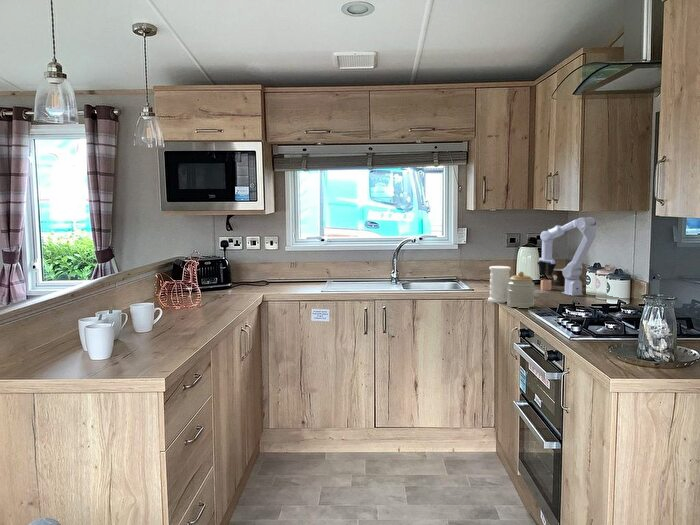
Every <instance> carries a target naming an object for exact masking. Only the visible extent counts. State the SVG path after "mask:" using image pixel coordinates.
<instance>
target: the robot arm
mask: <svg viewBox="0 0 700 525" xmlns="http://www.w3.org/2000/svg"><path fill="white" fill-rule="evenodd" d="M597 226H598V223H597V221H596V219H595V218H594V217H592V216H589V217H578V218H576V219H574V220H572V221H570V222H568V223H565V224H564V225H557V224H556V225H554V227H552V228H548V229H547V230H543V231H542V232H541V233H540V240H541V257H538V262H537V265H538V268H539V270H540V274H541V275H544V274H546V271H547V276H548V277H551V276H552V277H553V270H554V269H556V268H555V267H556V266H557V264H556V260H555V259H554V258H553V243H554V240H555V239H556V238H559V237H561V236H563V235H564V234H565V232H567V231H569V230H573V229H574V228H577V229H578V230H579V231H580V233H581V234H582V236H583V237H582V239H581V242H580V243H579V245H578V246H577V249H576V251H575V253H574V255H573V258H572V259H571V261H569V263H567V264H566V266H565V267H564V268H562V269H563V276H564V277H565V286H564V291H561V293H562V294H565V295H568V296H570V295H571V296H572V297H573V296H584V294H583V282H582V280H580V276H582V274H583V271H582V270H583V267H584V266H583V265H582V264H583V262H584V260H585V259H586V256H587V255H588V252H589V251H590V248H591V247H592V244H593V243H594V240H595V238H596V232H597Z"/></svg>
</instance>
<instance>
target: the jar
mask: <svg viewBox="0 0 700 525" xmlns="http://www.w3.org/2000/svg"><path fill="white" fill-rule="evenodd" d="M509 280H510V281H509V282H508V283H507V284H508V289H507V291H508V292H507V303H506V304H507V307H509V308H511V307H532V306H533V307H534V305H535V293H534V290H535V289H534V286H535V283H534V282H533V280H534V278H533V277H531V276H530V275H525V273H524V272H523V271H519V272H518V274H517V275H516V274H515V275H512V276H511V277H510V276H509Z"/></svg>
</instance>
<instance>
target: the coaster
mask: <svg viewBox="0 0 700 525" xmlns="http://www.w3.org/2000/svg"><path fill="white" fill-rule="evenodd" d="M551 293H552V292H551V291H549V290H541V289H534V295H535V294H536V295H537V294H551Z"/></svg>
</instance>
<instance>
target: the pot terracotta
mask: <svg viewBox="0 0 700 525" xmlns="http://www.w3.org/2000/svg"><path fill="white" fill-rule="evenodd" d="M540 290H544V291H552V280H551V279H541V280H540Z"/></svg>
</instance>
